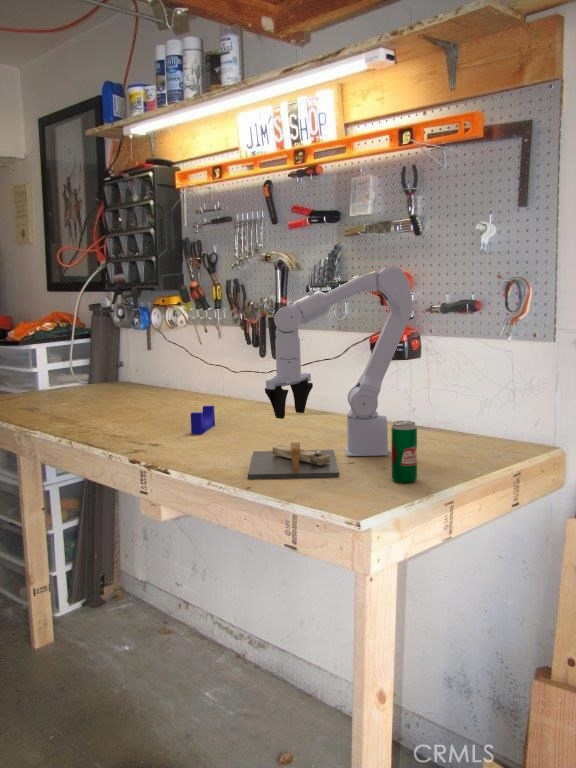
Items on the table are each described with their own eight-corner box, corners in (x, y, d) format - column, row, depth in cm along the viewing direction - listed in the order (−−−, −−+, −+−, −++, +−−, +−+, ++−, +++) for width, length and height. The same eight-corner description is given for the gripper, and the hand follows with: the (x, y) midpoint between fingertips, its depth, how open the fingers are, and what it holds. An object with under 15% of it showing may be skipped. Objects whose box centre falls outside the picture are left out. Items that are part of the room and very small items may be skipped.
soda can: (404, 485, 135) (404, 426, 133) (386, 480, 139) (386, 422, 138) (422, 481, 138) (422, 422, 136) (404, 475, 142) (404, 419, 140)
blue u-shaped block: (200, 425, 200) (199, 405, 199) (215, 426, 199) (214, 405, 198) (186, 434, 188) (185, 413, 187) (201, 435, 187) (200, 413, 187)
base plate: (333, 453, 162) (333, 431, 161) (339, 477, 142) (338, 451, 142) (253, 455, 162) (252, 432, 162) (247, 479, 143) (247, 453, 142)
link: (330, 462, 149) (330, 455, 149) (319, 465, 147) (319, 458, 147) (283, 451, 160) (282, 444, 160) (271, 454, 158) (271, 447, 157)
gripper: (293, 354, 168) (295, 409, 170) (254, 360, 156) (257, 419, 158) (317, 355, 163) (318, 411, 165) (278, 362, 152) (280, 422, 154)
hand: (290, 415), depth 161 cm, fingers open, 7 cm apart
